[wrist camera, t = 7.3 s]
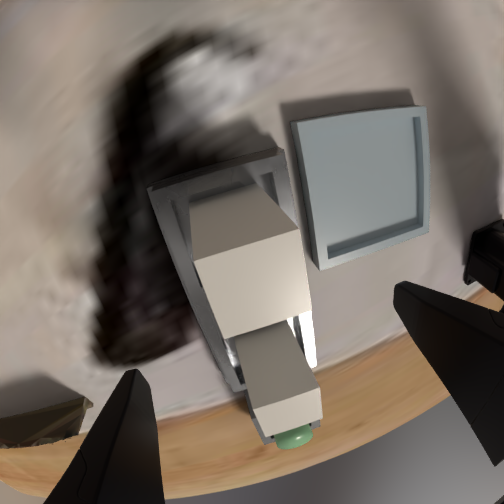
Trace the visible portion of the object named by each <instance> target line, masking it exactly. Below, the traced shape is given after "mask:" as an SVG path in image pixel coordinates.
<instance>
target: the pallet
mask: <svg viewBox="0 0 504 504" xmlns="http://www.w3.org/2000/svg"><path fill="white" fill-rule="evenodd" d="M255 183H257V184H258V185H259V186H260V187H261V188H262V189H263V190H264V191H265V192H266V193H267V194H268V196H269V197H270V198H271V199H272V200H273V201H274V202H275V203H276V204H277V205H278V206H279V207H280V208H281V209H282V210H283V211H284V212H285V214H286V215H287V216H288V217H289V218H290V219H291V220H292V221H293V222H294V223H295V224H296V225H297V226H298V224H297V218H296V212H295V206H294V200H293V195H292V189H291V184H290V178H289V173H288V168H287V162H286V157H285V152H284V149H282V148H279V147H278V148H273V149H269V150H265V151H261V152H257V153H253V154H249V155H245V156H241V157H237V158H233V159H230V160H226V161H222V162H219V163H215V164H212V165H208V166H205V167H201V168H198V169H195V170H191V171H188V172H185V173H182V174H178V175H175V176H172V177H169V178H166V179H163V180H160V181H157V182H154V183H151V184H148V186H147V188H146V189H147V191H148V194H149V197H150V200H151V203H152V206H153V209H154V212H155V214H156V217H157V220H158V223H159V225H160V228H161V231H162V234H163V236H164V239H165V242H166V244H167V247H168V249H169V252H170V255H171V257H172V260H173V262H174V265H175V267H176V270H177V272H178V275H179V277H180V280H181V282H182V285H183V287H184V290H185V292H186V294H187V297H188V299H189V302H190V304H191V306H192V309H193V311H194V313H195V316H196V318H197V320H198V322H199V325H200V327H201V329H202V331H203V334H204V336H205V338H206V340H207V343H208V345H209V347H210V349H211V351H212V353H213V356H214V358H215V360H216V362H217V364H218V366H219V368H220V370H221V372H222V375H223V377H224V379H225V381H226V383H229V384H230V386H231V388H232V390H233V392H234V393H235V392H238V391H242V390H245V389H247V386H246V383H245V379H244V375H243V372H242V368H241V364H240V360H239V356H238V352H237V349H236V345H235V341H234V337H230V338H226V339H224V338H223V335H222V333H221V330H220V328H219V326H218V323H217V321H216V318H215V316H214V313H213V311H212V308H211V306H210V303H209V300H208V298H207V295H206V293H205V290H204V288H203V285H202V282H201V280H200V277H199V274H198V272H197V269H196V266H195V264H194V260H193V249H192V238H191V225H190V212H189V203H191V202H194V201H197V200H200V199H204V198H207V197H210V196H213V195H217V194H220V193H223V192H227V191H230V190H234V189H237V188H241V187H244V186H248V185H251V184H255ZM287 321H288V323H289V325H290V327H291V329H292V331H293V333H294V336H295V338H296V340H297V342H298V344H299V346H300V348H301V350H302V352H303V354H304V356H305V358H306V360H307V362H308V364H309V366H310V368H313V367H315V366H317V365H316V356H315V355H316V350H315V342H314V334H313V326H312V318H311V311H309V312H306V313H304V314H301V315H298V316H295V317H292V318H289V319H287Z"/></svg>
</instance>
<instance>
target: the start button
mask: <svg viewBox="0 0 504 504" xmlns="http://www.w3.org/2000/svg"><path fill="white" fill-rule="evenodd" d="M312 437H313V433H312V431H311V428H310V426H309V423H308V424H305V425H303V426H300V427H297V428H294V429H291V430H288V431H285V432H281V433H278V434H275V435H274V438H275V441H276V444H277V447H278V448H280V449H292V448H296V447H299V446H301V445H303V444H305V443H307V442H308V441H309V440H310V439H311V438H312Z"/></svg>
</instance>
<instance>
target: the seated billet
mask: <svg viewBox="0 0 504 504" xmlns="http://www.w3.org/2000/svg"><path fill="white" fill-rule="evenodd" d="M233 337H234V341H235V345H236V349H237V352H238V356H239V360H240V364H241V368H242V372H243V375H244V379H245V383H246V386H247V390H248V394H249V397H250V401H251V405H252V408H253V411H254V413H255V415H256V418H257V420H258V422H259V424H260V426H261V428H262V431H263V433H264V435H265V437H268V436H272V435H275V434H278V433H281V432H285V431H288V430H291V429H294V428H297V427H300V426H303V425H305V424H308V423H311V422H314V421H316V420H319V419H322V418H323V417H322V406H321V395H320V387H319V385H318V383H317V381H316V379H315V377H314V374H313V372H312V370H311V368H310V366H309V364H308V362H307V360H306V358H305V356H304V354H303V352H302V350H301V348H300V346H299V344H298V342H297V340H296V338H295V336H294V333H293V331H292V329H291V327H290V325H289V323H288V321H287V319H286V320H283V321H280V322H277V323H274V324H271V325H268V326H265V327H262V328H259V329H256V330H253V331H249V332H246V333H243V334H240V335H236V336H233Z"/></svg>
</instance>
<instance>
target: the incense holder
mask: <svg viewBox="0 0 504 504" xmlns="http://www.w3.org/2000/svg"><path fill="white" fill-rule="evenodd" d="M91 407H93V403H92V402H91V401H90V400H88V399H87V398H86V397H82V398H79V399H75V400H72V401H68V402H65V403H61V404H58V405H54V406H50V407H47V408H43V409H39V410H35V411H31V412H27V413H23V414H19V415H15V416H10V417H6V418H1V419H0V449H1V448H5V449H9V448H23V447H33V446H39V445H40V444H41V445H43V444H48V443H49V444H50V443H54V442H57V441H59V440H64V439H66V438H67V439H69V437H72V436H75V435H78V434H79V431H80V428H81V425H82V422H83V419H84V416H85V413H86V410H87V409H88V408H91ZM65 442H66V441H65Z"/></svg>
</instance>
